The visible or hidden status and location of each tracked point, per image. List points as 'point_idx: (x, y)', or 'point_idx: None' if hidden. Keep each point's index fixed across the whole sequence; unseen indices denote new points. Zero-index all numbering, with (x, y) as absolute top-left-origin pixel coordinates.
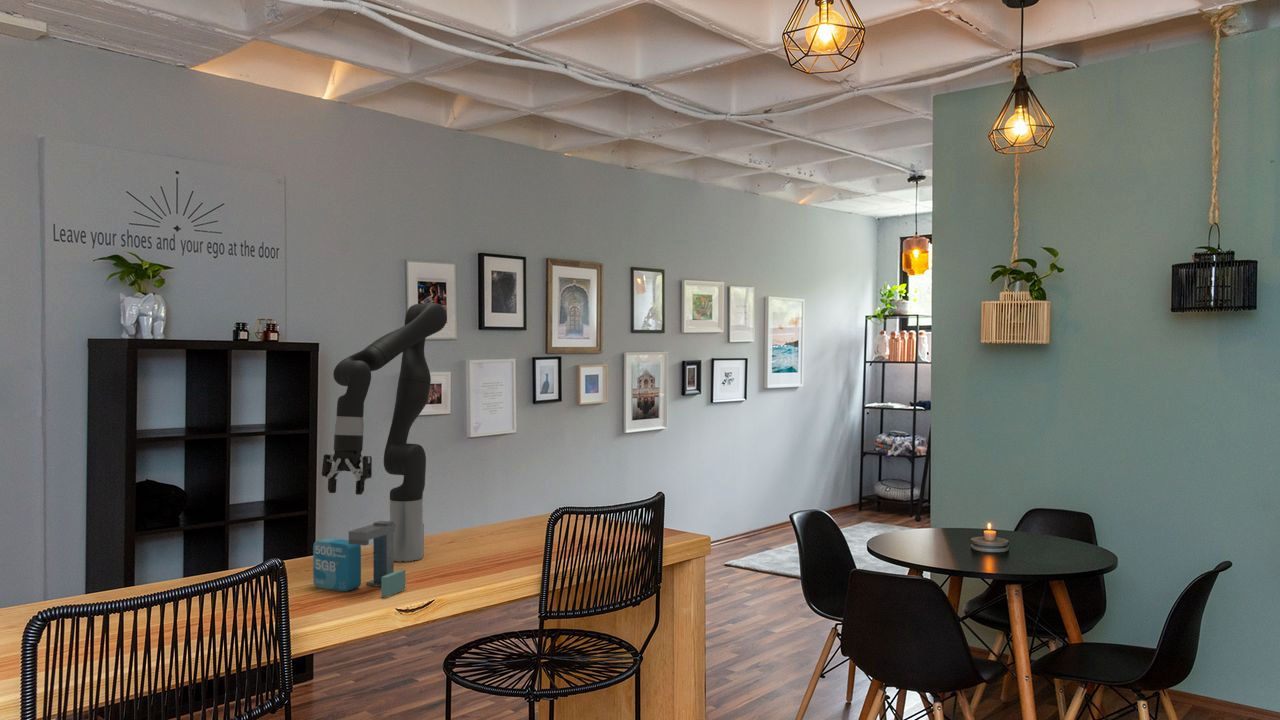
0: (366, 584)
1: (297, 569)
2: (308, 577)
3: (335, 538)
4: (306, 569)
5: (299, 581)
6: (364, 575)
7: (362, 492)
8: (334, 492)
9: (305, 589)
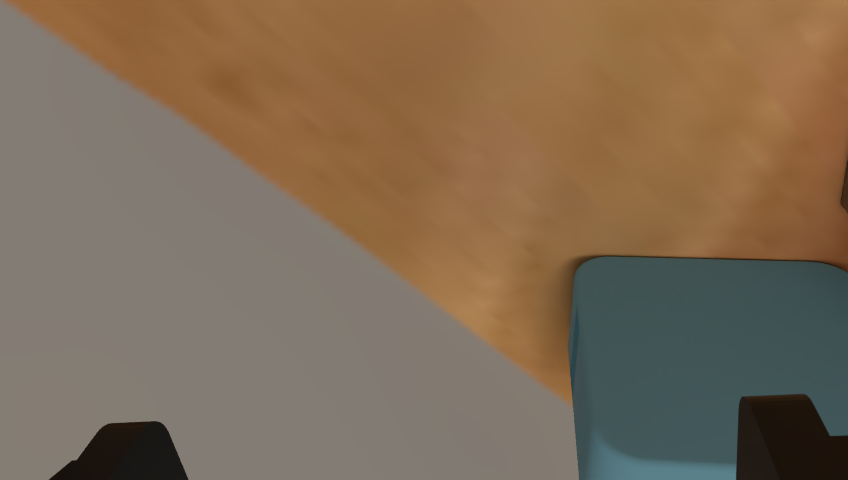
0: (844, 205)
1: (158, 96)
2: (383, 205)
3: (708, 475)
4: (201, 71)
5: (413, 279)
6: (675, 18)
7: (812, 407)
8: (165, 443)
9: (563, 366)
